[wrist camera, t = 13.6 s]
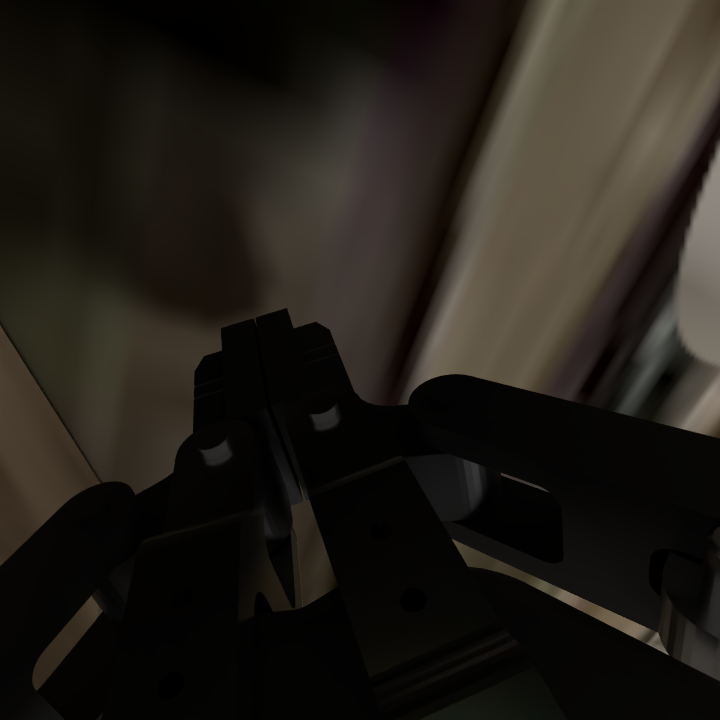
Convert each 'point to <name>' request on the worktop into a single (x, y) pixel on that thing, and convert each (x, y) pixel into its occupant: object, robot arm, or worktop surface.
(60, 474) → the block
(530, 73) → the worktop surface
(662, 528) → the robot arm
